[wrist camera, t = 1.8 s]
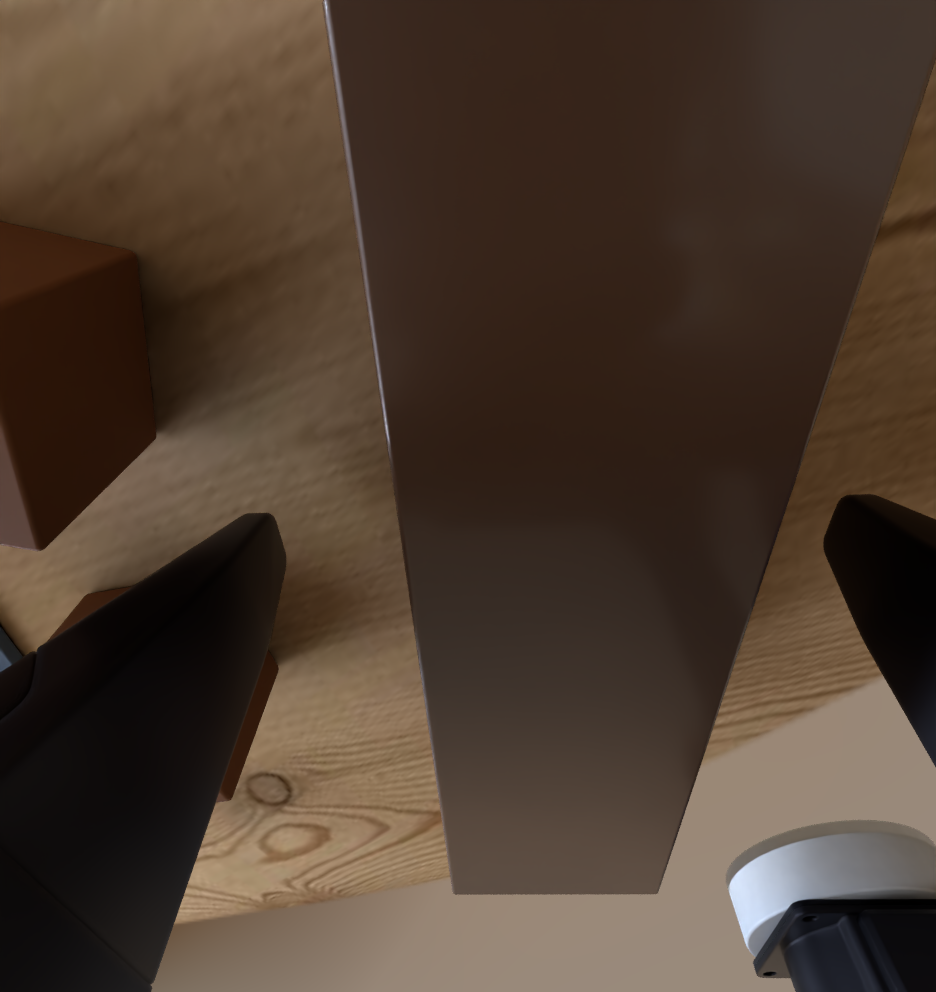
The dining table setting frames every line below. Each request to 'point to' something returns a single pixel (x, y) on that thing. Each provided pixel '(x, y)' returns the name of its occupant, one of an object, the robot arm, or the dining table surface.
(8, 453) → the crumb
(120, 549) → the dining table surface
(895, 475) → the dining table surface
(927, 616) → the robot arm
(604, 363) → the brown long block
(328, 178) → the dining table surface
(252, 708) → the crumb
